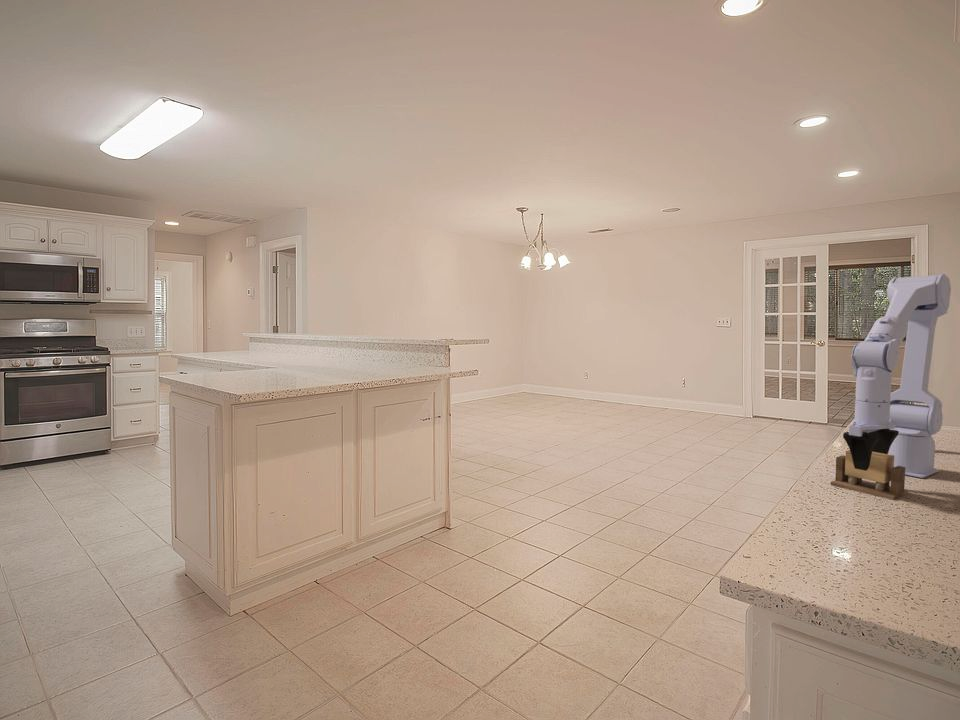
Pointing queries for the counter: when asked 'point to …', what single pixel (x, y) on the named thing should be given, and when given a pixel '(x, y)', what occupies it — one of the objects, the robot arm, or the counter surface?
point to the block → (872, 467)
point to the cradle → (871, 487)
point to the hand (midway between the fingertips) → (869, 466)
